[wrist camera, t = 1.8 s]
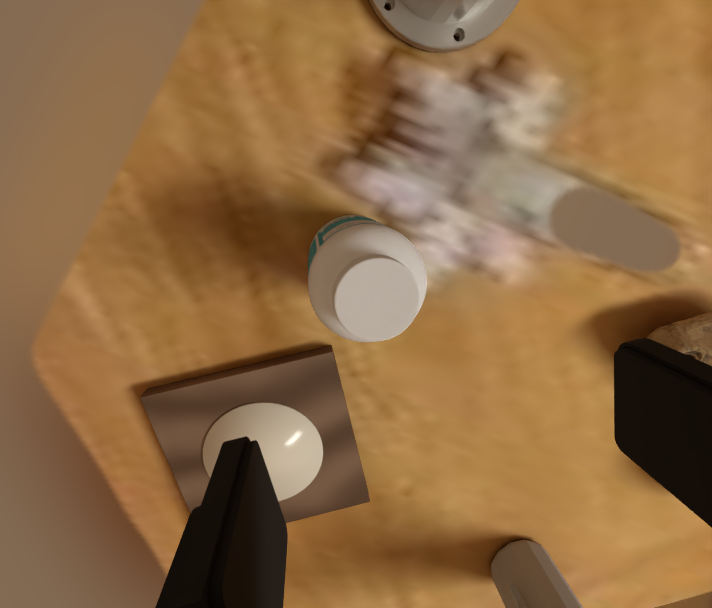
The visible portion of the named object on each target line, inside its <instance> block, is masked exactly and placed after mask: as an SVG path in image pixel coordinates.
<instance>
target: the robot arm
mask: <svg viewBox="0 0 712 608" xmlns="http://www.w3.org/2000/svg"><path fill="white" fill-rule="evenodd" d="M369 2H370V3H371V5H372V7H373V9H374V11H375V13H376V14H377V16H378V17H379V18H380V19H381V21H382V22H383V23H384V25H385V26H386V27H387V28H388V29H389V30H390V31H391V32H393V33H394V34H395V35H396V36H397V37H398V38H399V39H401V40H403V41H404V42H406V43H408V44H410V45H412V46H413V47H416V48H419V49H422V50H426V51H429V52H442V53H446V52H453V51H459V50H462V49H465V48H467V47H470V46H473V45H475V44H477V43H478V42H480V41H481V40H483V39H484V38H486V37H488V36H489V35H490V34H491V33H492V32H493V31H495V30H496V29H497V28H498V27H499V26H500V25H501V24H502V23H503V22H504V21H505V20H506V19H507V17H508V16H509V15H510V14H511V13H512V11H513V10H514V8H515V7H516V5H517V3H518V2H519V0H369ZM385 5H388V6H389V7H390V11H387V10H386V9H385V8H384V6H385ZM453 36H457V38H458V41H456V40H455V39H454V37H453ZM614 423H615V441H616V444H617V445H618V447H619V449H620V450H621V451H622V452H623V453H624V454H625V455H627V456H628V457H629V458H630V459H631V460H632V461H634V462H635V463H636V464H637V465H638V466H640V467H641V468H642V469H643V470H644V471H645V472H647V473H648V474H649V475H650V476H651V477H653V478H654V479H655V480H656V481H657V482H658V483H660V484H661V485H662V486H663V487H664V488H666V489H667V490H668V491H669V492H670V493H672V494H673V495H674V496H675V497H676V498H677V499H679V500H680V501H681V502H682V503H683V504H685V505H686V506H687V507H688V508H689V509H690V510H692V511H693V512H694V513H695V514H696V515H698V516H699V517H700V518H701V519H702V520H703V521H705V522H706V523H707V524H708V525H709V526H711V527H712V366H711V365H708V364H706V363H704V362H701V361H699V360H697V359H695V358H692V357H690V356H688V355H686V354H683V353H681V352H679V351H677V350H674V349H672V348H670V347H667V346H665V345H663V344H661V343H658V342H656V341H654V340H652V339H649V338H641V339H637V340H633V341H629V342H625V343H622V344H621V345H620V346H619V348H618V350H617V351H616V352H615V354H614ZM286 554H287V527H286V523H285V520H284V517H283V514H282V511H281V508H280V505H279V502H278V499H277V496H276V493H275V490H274V487H273V484H272V481H271V478H270V476H269V473H268V470H267V467H266V464H265V461H264V458H263V455H262V452H261V449H260V446H259V444H258V442H257V441H256V440H254V441H250V439H249V438H248V437H247V436H245V437H241V438H237V439H233V440H229V441H225V442H223V444H222V446H221V449H220V452H219V455H218V458H217V460H216V463H215V466H214V469H213V472H212V475H211V478H210V480H209V483H208V486H207V489H206V492H205V495H204V498H203V501H202V503H201V506H198V507H196V508H194V509H193V510H192V512H191V514H190V516H189V519H188V522H187V524H186V527H185V530H184V532H183V535H182V538H181V540H180V543H179V546H178V548H177V551H176V554H175V556H174V559H173V562H172V565H171V567H170V570H169V573H168V575H167V578H166V581H165V583H164V587H163V589H162V592H161V594H160V597H159V600H158V602H157V605H156V608H283V598H284V584H285V569H286ZM656 608H712V592H709V593H706V594H702V595H699V596H695V597H692V598H688V599H684V600H681V601H677V602H674V603H670V604H667V605H663V606H659V607H656Z"/></svg>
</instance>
